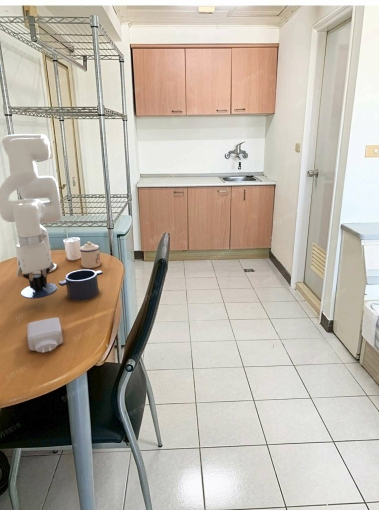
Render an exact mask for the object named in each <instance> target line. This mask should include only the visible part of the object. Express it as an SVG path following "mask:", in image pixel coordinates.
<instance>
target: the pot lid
mask: <svg viewBox="0 0 379 510" xmlns="http://www.w3.org/2000/svg"><path fill="white" fill-rule="evenodd" d="M33 279H34V280H35V283H36V289H37V290H36V291H34V290H33V289H32V288H30V285H29V286H27V287H25V288H23V289H22V290H21V292H20V295H21V297H22V298H25V299H31V300H34V299H35V300H36V299H41V298H47V297H49V296H51V295H53V294H54V293H56V292H57V291H58V286H57V284H55V283H52V282H47V284H46V288H44V287H43V283H42V277H41V274H33Z"/></svg>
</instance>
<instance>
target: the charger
mask: <svg viewBox="0 0 379 510" xmlns="http://www.w3.org/2000/svg"><path fill="white" fill-rule="evenodd" d="M26 327H27V328H26V329H27V331H26V333H27V335H26V336H27V345H28V349H29V351H36V352H37V353H42V354H44V353H47V352H51V351H53V350H55V349H56V348H57V347H58V346H60V345H61V344H63V343H64V338H63V331H62V327H61V320H60V318H59V317H50V318H45V319H41V320H35V321H31V322H28V323H27V325H26Z"/></svg>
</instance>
